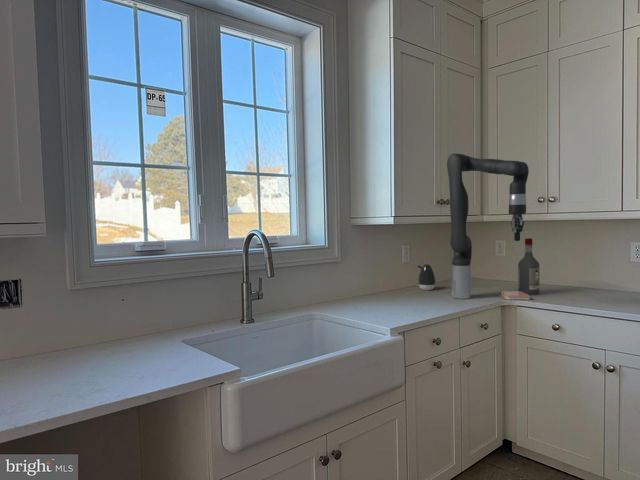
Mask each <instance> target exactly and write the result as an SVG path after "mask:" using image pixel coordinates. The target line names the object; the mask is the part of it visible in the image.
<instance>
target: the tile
mask: <svg viewBox="0 0 640 480" xmlns="http://www.w3.org/2000/svg"><path fill="white" fill-rule="evenodd" d="M500 293H501V294H500V295H503V296H504V297H506V298H508V299H530V298H531V295H528V294H526V293H524V292H522V291H518V290H500Z"/></svg>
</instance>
